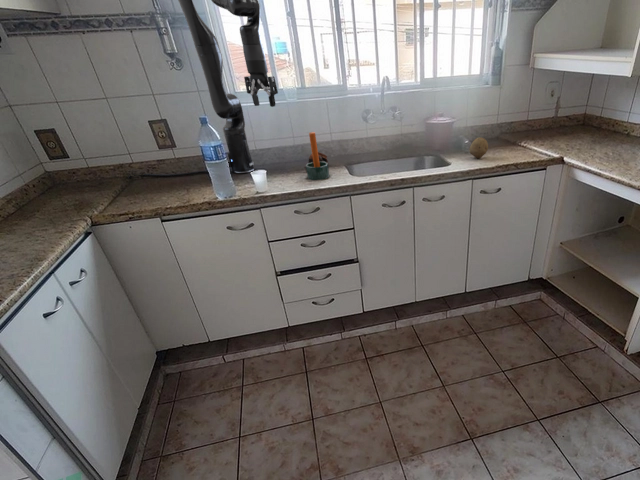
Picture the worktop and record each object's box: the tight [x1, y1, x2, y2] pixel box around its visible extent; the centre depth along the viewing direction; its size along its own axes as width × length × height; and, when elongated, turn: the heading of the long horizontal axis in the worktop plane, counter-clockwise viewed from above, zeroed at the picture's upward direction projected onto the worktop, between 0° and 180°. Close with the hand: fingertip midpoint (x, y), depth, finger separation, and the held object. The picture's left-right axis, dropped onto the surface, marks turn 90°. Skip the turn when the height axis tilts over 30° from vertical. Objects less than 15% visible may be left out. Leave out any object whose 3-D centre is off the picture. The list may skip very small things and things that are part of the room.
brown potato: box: [468, 137, 489, 159], centre depth 190 cm, size 9×9×10 cm
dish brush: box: [308, 131, 320, 167], centre depth 169 cm, size 5×5×18 cm
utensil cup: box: [305, 161, 330, 181], centre depth 173 cm, size 10×10×6 cm
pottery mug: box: [307, 151, 329, 164], centre depth 187 cm, size 12×10×8 cm
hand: (265, 106), depth 155 cm, fingers open, 8 cm apart
